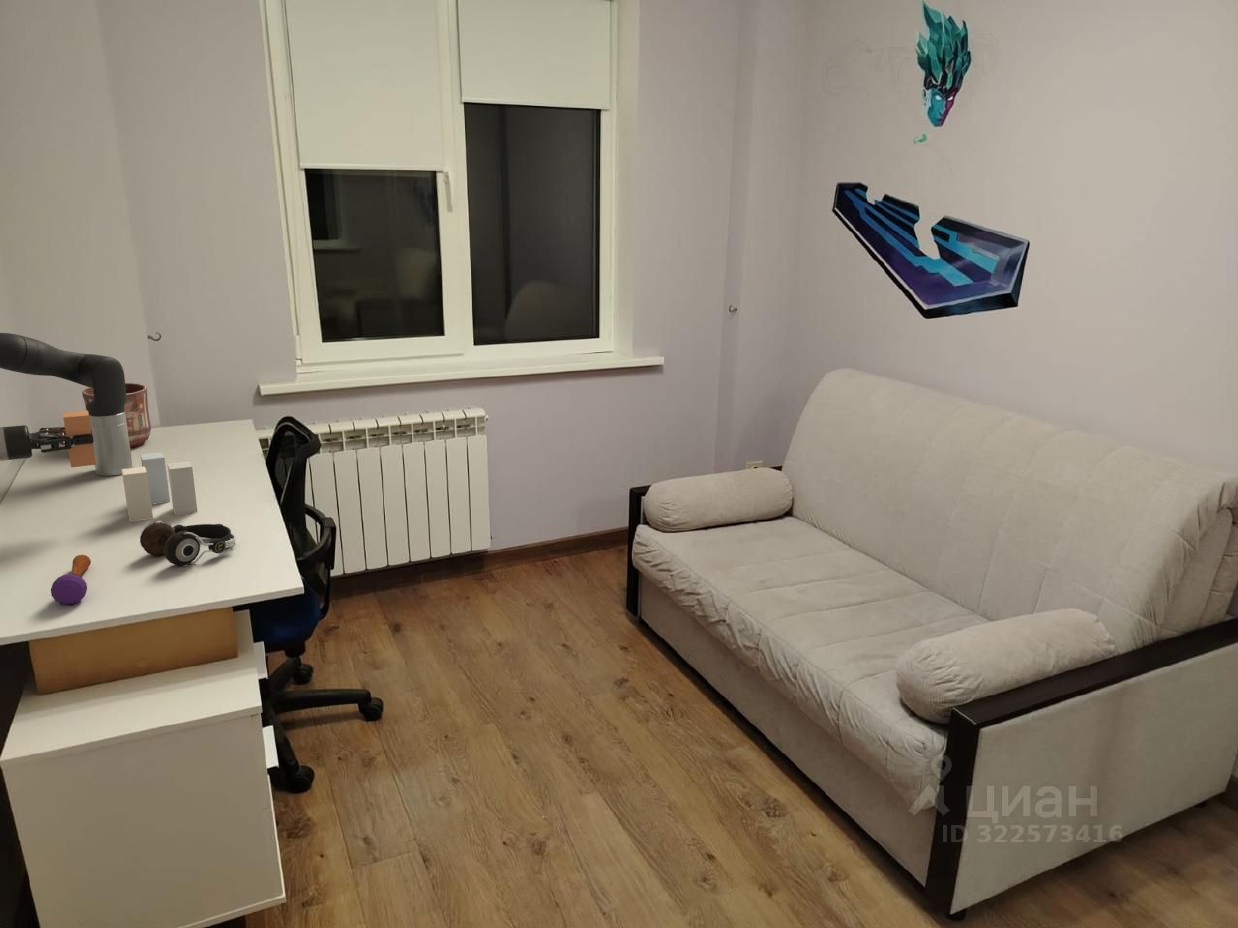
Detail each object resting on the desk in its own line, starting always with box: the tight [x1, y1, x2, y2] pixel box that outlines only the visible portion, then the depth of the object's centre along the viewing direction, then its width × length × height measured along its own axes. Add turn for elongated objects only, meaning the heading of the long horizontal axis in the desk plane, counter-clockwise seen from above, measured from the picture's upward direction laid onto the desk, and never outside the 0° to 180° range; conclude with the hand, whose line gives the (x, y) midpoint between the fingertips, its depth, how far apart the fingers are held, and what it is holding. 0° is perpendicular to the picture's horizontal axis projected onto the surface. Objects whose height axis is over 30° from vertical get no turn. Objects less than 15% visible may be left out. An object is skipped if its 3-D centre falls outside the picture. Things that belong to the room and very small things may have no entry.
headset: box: [139, 520, 236, 566], centre depth 193 cm, size 17×8×20 cm
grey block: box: [166, 460, 198, 516], centre depth 215 cm, size 5×5×12 cm
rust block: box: [62, 410, 96, 468], centre depth 200 cm, size 5×5×12 cm
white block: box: [140, 452, 171, 505], centre depth 221 cm, size 5×5×12 cm
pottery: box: [81, 382, 152, 449], centre depth 265 cm, size 18×18×18 cm
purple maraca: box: [50, 554, 92, 606], centre depth 173 cm, size 6×6×20 cm
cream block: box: [121, 466, 154, 522], centre depth 210 cm, size 5×5×12 cm
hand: (92, 435), depth 201 cm, fingers closed on rust block, 5 cm apart
